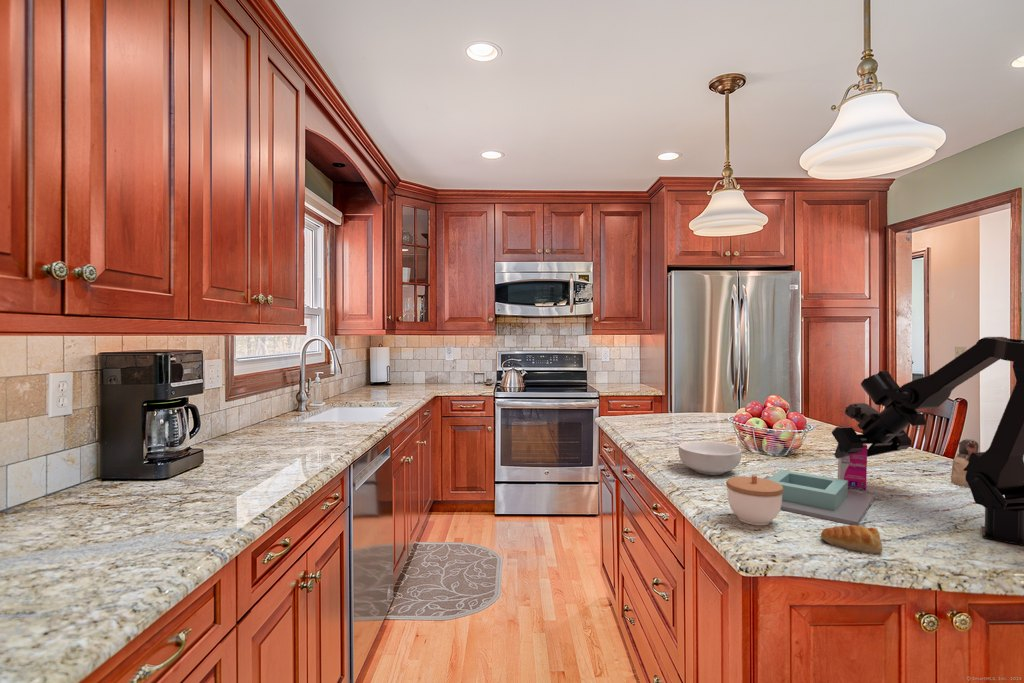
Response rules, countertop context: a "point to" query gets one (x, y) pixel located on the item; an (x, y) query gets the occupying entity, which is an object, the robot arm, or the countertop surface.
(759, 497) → the lidded jar
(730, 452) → the cereal bowl
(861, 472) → the supplement box
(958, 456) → the figurine
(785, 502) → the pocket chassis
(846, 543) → the pastry
